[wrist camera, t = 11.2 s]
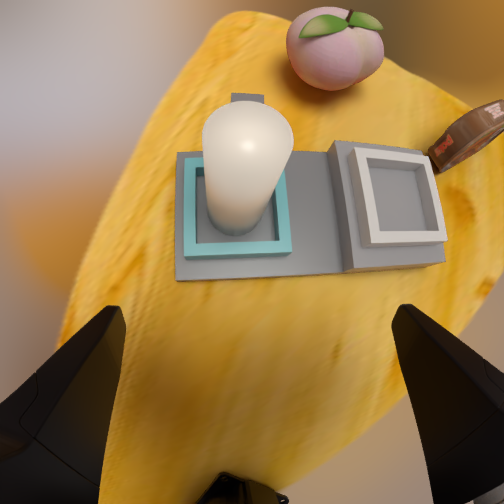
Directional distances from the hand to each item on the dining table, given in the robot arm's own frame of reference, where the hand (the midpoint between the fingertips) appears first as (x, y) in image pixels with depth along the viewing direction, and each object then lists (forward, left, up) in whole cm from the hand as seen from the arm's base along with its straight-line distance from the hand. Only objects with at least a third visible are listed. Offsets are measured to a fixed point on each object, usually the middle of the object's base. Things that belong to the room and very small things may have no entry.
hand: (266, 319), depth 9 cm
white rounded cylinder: (+6, +4, -12) cm, 14 cm away
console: (+10, -1, -13) cm, 16 cm away
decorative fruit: (+23, +5, -13) cm, 27 cm away
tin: (+27, -12, -13) cm, 33 cm away
